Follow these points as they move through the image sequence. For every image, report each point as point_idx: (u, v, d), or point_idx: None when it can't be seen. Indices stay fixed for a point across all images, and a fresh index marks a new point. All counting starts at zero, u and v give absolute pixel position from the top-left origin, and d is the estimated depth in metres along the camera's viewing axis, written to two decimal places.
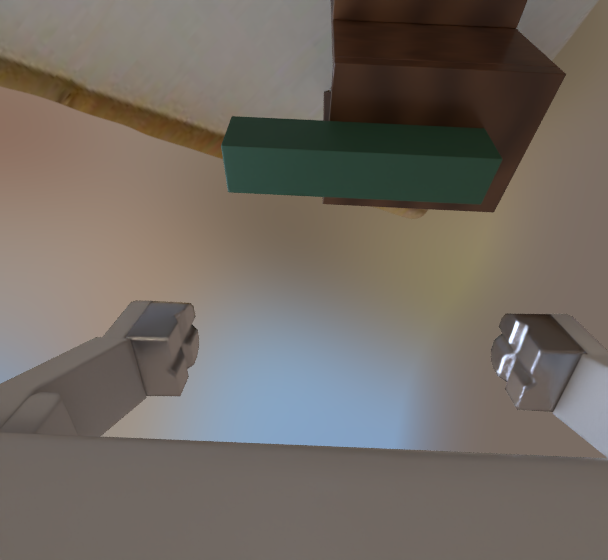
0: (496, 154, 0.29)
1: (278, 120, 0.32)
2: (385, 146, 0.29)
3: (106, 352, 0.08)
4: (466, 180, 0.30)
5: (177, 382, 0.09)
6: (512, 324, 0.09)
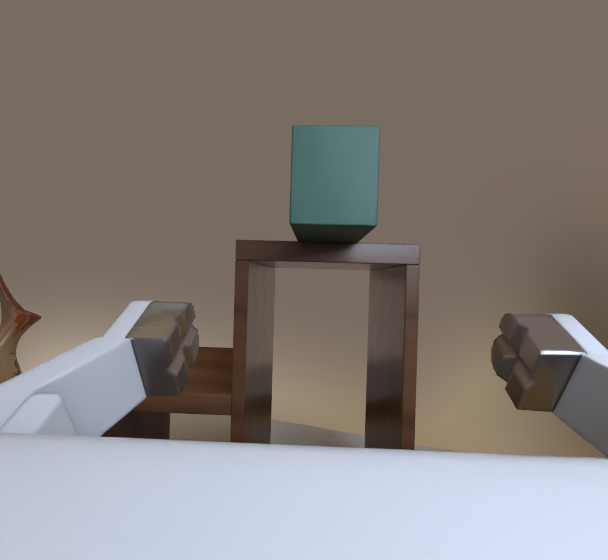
0: None
1: None
2: None
3: (106, 353, 0.08)
4: None
5: (177, 382, 0.09)
6: (512, 324, 0.09)
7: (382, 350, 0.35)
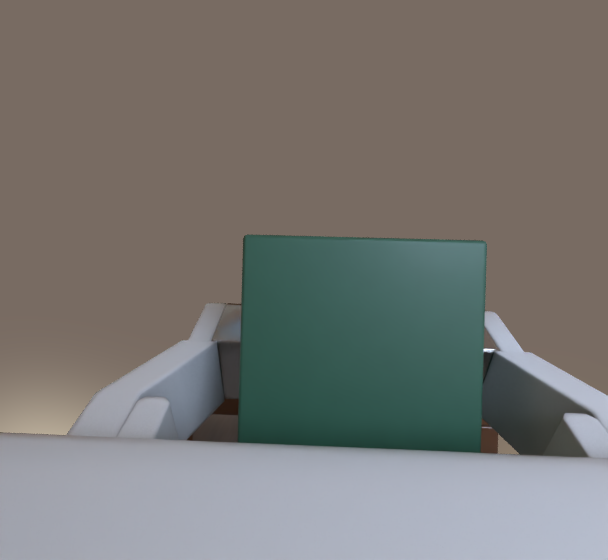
0: None
1: None
2: None
3: (197, 356, 0.08)
4: None
5: None
6: None
7: None
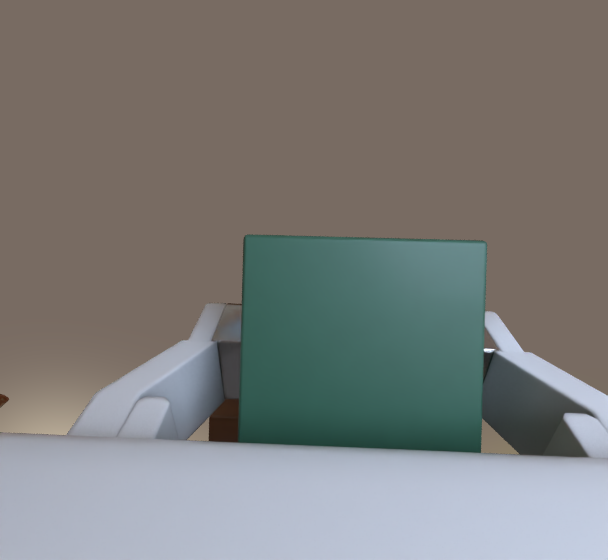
0: None
1: None
2: None
3: (197, 356, 0.08)
4: None
5: None
6: None
7: None
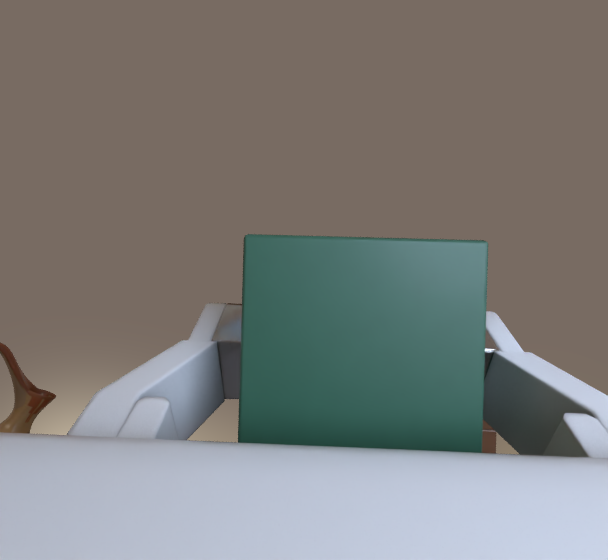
0: None
1: None
2: None
3: (197, 356, 0.08)
4: None
5: None
6: None
7: None
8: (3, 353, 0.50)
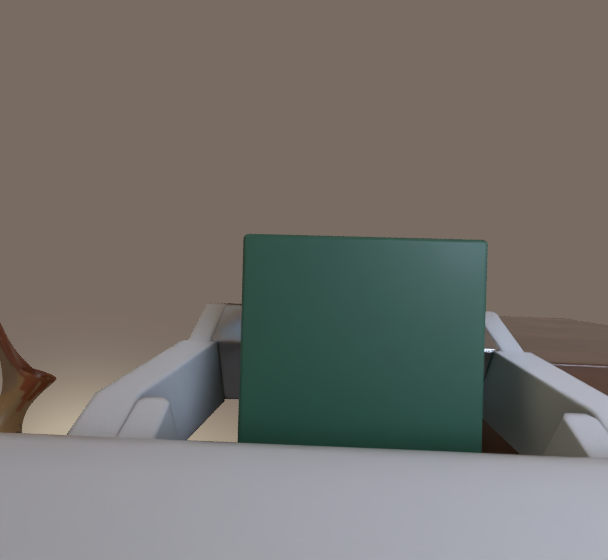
0: None
1: None
2: None
3: (197, 356, 0.08)
4: None
5: None
6: None
7: None
8: None
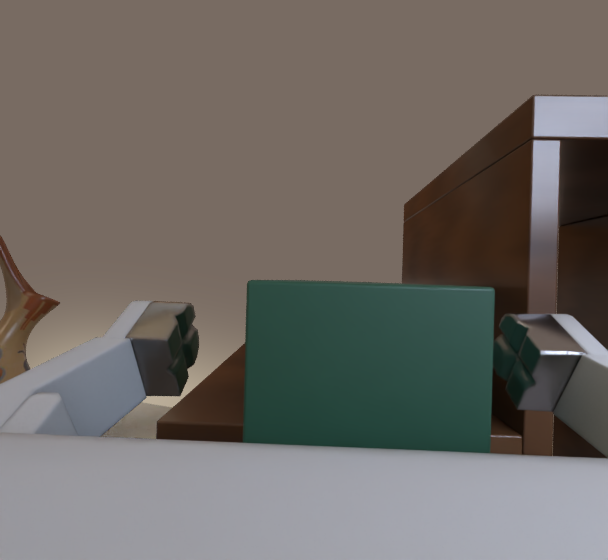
0: None
1: None
2: None
3: (106, 352, 0.08)
4: None
5: (177, 382, 0.09)
6: (512, 324, 0.09)
7: None
8: None
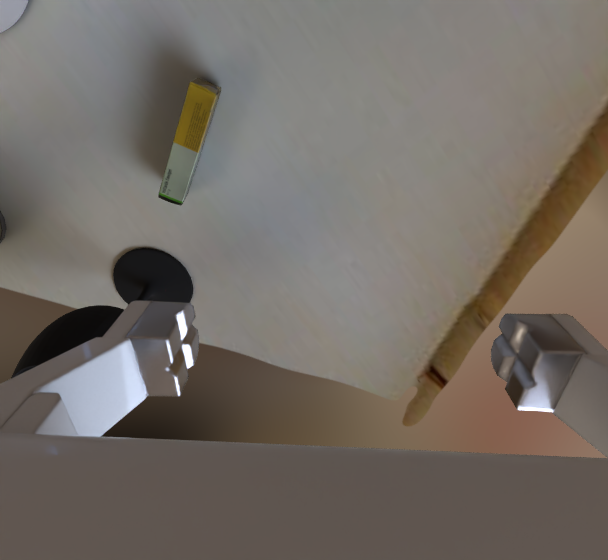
0: None
1: None
2: None
3: (106, 353, 0.08)
4: None
5: (177, 382, 0.09)
6: (512, 325, 0.09)
7: None
8: None
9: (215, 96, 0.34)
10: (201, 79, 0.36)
